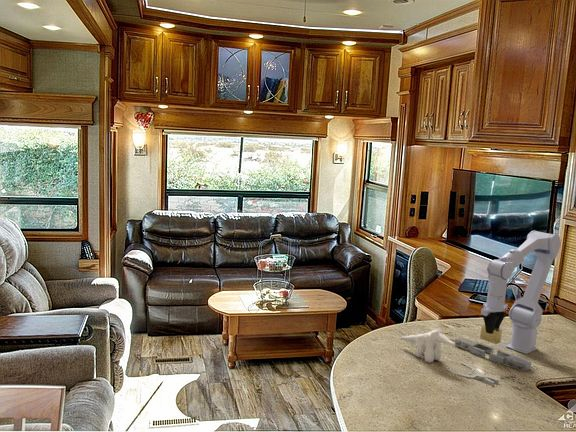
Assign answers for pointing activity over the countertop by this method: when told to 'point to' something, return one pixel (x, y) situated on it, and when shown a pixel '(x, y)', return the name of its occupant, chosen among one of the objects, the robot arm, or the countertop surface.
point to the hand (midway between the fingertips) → (491, 332)
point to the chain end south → (473, 346)
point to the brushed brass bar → (491, 335)
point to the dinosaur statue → (428, 344)
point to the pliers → (478, 376)
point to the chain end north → (510, 361)
